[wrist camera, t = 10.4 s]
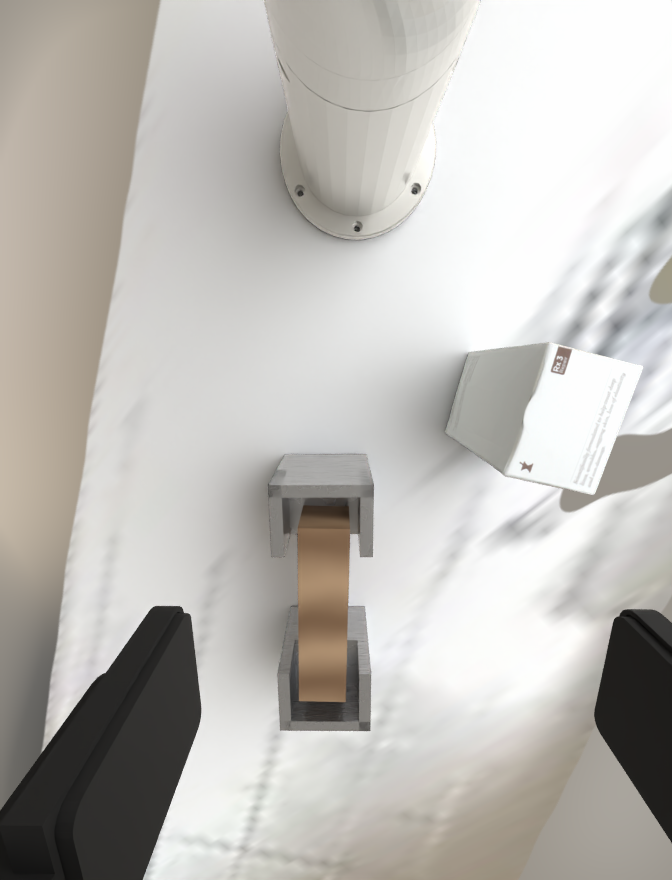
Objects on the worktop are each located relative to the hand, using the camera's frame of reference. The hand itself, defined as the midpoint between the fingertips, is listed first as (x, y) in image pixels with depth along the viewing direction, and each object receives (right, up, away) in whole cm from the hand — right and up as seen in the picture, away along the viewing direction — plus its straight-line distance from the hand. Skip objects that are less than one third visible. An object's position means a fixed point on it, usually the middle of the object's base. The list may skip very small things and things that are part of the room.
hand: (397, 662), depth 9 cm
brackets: (-2, -8, +32) cm, 33 cm away
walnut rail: (-2, -9, +27) cm, 29 cm away
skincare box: (+13, +9, +28) cm, 32 cm away
